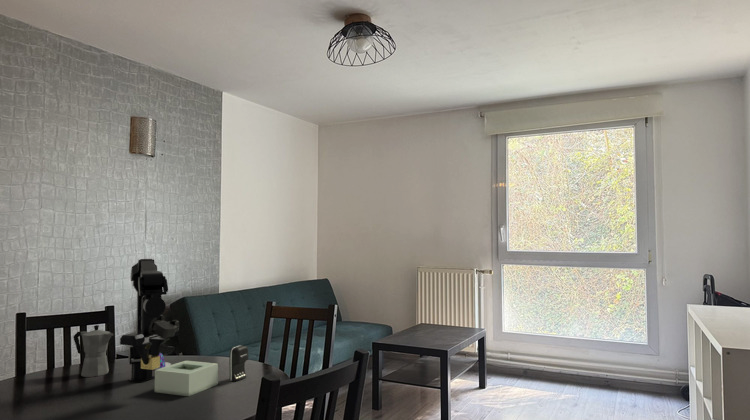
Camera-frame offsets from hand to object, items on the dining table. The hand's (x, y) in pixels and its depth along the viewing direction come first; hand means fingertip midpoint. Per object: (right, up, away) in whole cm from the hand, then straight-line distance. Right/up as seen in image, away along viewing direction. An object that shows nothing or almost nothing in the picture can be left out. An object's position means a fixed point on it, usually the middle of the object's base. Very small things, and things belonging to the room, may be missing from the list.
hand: (150, 363), depth 156 cm
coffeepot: (-35, -14, +30) cm, 48 cm away
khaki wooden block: (0, -2, 0) cm, 2 cm away
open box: (+7, -12, +10) cm, 17 cm away
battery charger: (+22, -12, +21) cm, 33 cm away
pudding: (-16, -14, +40) cm, 45 cm away
